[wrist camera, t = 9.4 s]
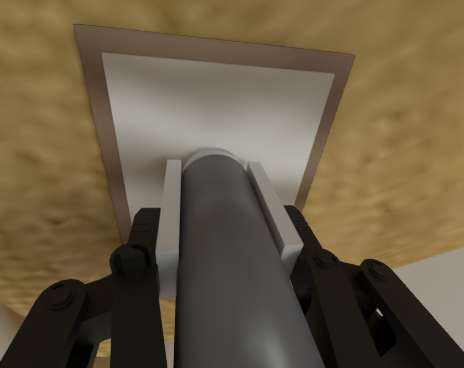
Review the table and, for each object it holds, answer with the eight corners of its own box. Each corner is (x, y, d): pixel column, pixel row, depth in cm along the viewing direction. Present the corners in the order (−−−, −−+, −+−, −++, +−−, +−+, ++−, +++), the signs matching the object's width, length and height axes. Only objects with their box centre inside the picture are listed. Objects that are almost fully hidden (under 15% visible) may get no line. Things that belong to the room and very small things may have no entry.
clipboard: (78, 24, 11) (61, 24, 9) (349, 53, 14) (369, 57, 12) (130, 270, 21) (126, 289, 19) (281, 260, 23) (287, 276, 22)
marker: (179, 145, 13) (163, 507, 3) (248, 147, 14) (401, 448, 4) (180, 201, 16) (171, 523, 6) (240, 201, 16) (325, 482, 6)
